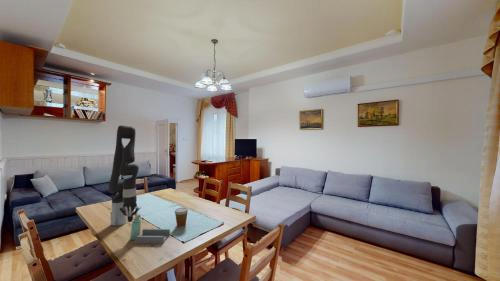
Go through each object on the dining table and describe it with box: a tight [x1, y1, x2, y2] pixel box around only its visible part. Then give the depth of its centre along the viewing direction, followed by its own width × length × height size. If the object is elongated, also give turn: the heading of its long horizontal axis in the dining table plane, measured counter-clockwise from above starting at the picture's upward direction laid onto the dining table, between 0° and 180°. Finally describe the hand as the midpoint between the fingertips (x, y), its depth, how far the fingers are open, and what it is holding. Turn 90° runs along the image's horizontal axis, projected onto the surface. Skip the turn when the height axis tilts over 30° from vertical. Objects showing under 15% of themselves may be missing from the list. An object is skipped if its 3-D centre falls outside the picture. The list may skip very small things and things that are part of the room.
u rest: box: [133, 228, 171, 244], centre depth 129 cm, size 18×10×4 cm, turn 90°
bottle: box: [129, 212, 142, 241], centre depth 128 cm, size 5×5×16 cm
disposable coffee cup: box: [174, 207, 189, 228], centre depth 147 cm, size 10×10×12 cm
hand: (130, 221), depth 128 cm, fingers closed
